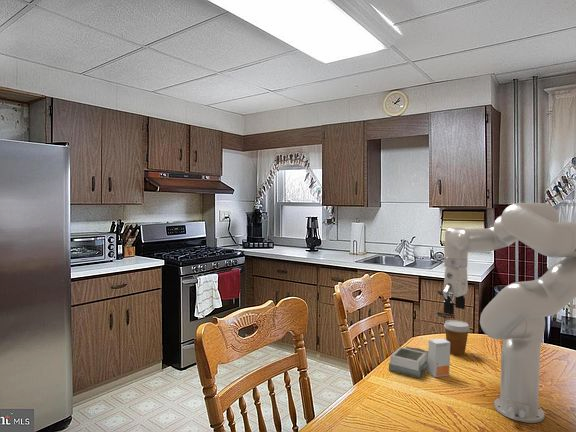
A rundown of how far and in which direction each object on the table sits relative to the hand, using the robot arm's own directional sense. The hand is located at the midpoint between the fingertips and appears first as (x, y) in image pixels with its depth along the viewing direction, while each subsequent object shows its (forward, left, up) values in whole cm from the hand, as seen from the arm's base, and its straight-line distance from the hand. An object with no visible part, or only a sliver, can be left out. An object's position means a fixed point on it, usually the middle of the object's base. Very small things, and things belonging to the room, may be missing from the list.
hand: (454, 310), depth 139 cm
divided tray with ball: (-2, +14, -22) cm, 26 cm away
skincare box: (-5, +4, -22) cm, 23 cm away
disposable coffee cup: (+19, +3, -22) cm, 29 cm away
